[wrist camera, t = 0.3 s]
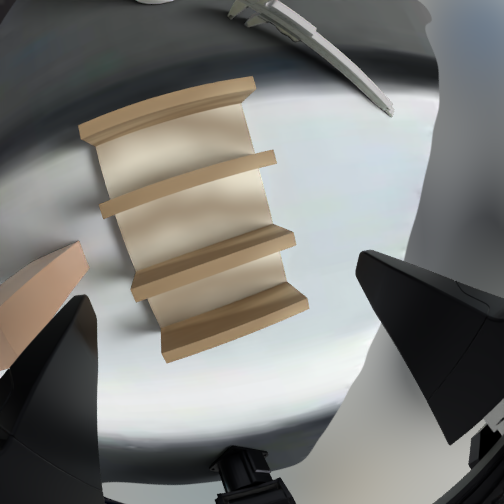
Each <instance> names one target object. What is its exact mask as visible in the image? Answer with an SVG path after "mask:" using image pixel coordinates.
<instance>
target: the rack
mask: <svg viewBox="0 0 504 504" xmlns="http://www.w3.org/2000/svg"><path fill="white" fill-rule="evenodd" d="M255 90H256V86H255V83H254V79H253V76H251V77H244V78H238V79H231V80H226V81H220V82H215V83H210V84H205V85H201V86H196V87H192V88H188V89H184V90H180V91H176V92H172V93H168V94H165V95H161V96H158V97H154V98H151V99H148V100H145V101H141V102H138V103H135V104H132V105H129V106H126V107H124V108H121V109H118V110H115V111H113V112H110V113H107V114H105V115H102V116H100V117H97V118H95V119H92V120H90V121H88V122H85V123H83V124H81V125H79V126H78V127H79V132H80V137H81V140H83V141H85V142H87V143H89V144H91V145H93V146H95V147H96V151H97V155H98V159H99V163H100V166H101V170H102V174H103V177H104V181H105V184H106V188H107V191H108V194H109V198H110V200H109V201H106V202H104V203H101V204H99V208H100V211H101V214H102V217H103V219H105V218H108V217H110V216H113V215H115V216H116V219H117V222H118V225H119V228H120V231H121V234H122V237H123V239H124V242H125V245H126V248H127V250H128V253H129V256H130V258H131V261H132V263H133V266H134V268H135V271H136V273H135V276H134V279H133V283H132V286H131V292H132V294H133V297H134V299H135V301H136V302H139V301H142V300H145V299H148V302H149V304H150V306H151V308H152V310H153V313H154V315H155V317H156V319H157V321H158V323H159V325H160V328H161V353H162V355H163V357H164V359H165V361H166V363H170V362H173V361H176V360H179V359H182V358H185V357H188V356H191V355H193V354H196V353H199V352H202V351H205V350H208V349H210V348H213V347H216V346H219V345H221V344H224V343H227V342H229V341H232V340H235V339H237V338H240V337H243V336H245V335H248V334H250V333H253V332H255V331H258V330H260V329H263V328H265V327H268V326H270V325H273V324H275V323H277V322H280V321H282V320H284V319H287V318H289V317H291V316H294V315H296V314H298V313H301V312H303V311H305V310H307V309H309V304H308V299H307V298H306V297H305V296H304V295H303V294H302V293H300V292H299V291H298V290H297V289H295V288H294V287H293V286H292V285H291V284H289V283H288V282H287V280H286V275H285V271H284V267H283V263H282V258H281V254H280V251H282V250H285V249H287V248H290V247H293V246H295V245H296V241H295V237H294V232H292V231H289V230H287V229H284V228H282V227H279V226H277V225H274V224H273V221H272V217H271V214H270V210H269V206H268V202H267V198H266V194H265V190H264V186H263V182H262V178H261V175H260V171H259V168H261V167H265V166H269V165H273V164H277V162H276V158H275V154H274V150H269V151H265V152H260V153H256V154H255V152H254V148H253V145H252V141H251V137H250V134H249V130H248V126H247V123H246V119H245V116H244V112H243V108H242V105H241V103H242V102H243V101H244V100H245V99H246V98H247V97H248V96H249V95H250V94H251V93H252V92H253V91H255Z"/></svg>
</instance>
